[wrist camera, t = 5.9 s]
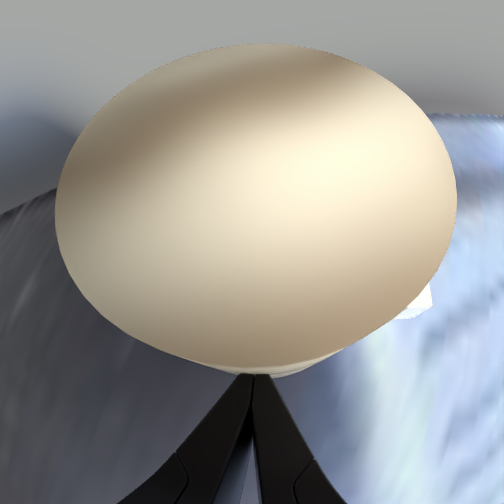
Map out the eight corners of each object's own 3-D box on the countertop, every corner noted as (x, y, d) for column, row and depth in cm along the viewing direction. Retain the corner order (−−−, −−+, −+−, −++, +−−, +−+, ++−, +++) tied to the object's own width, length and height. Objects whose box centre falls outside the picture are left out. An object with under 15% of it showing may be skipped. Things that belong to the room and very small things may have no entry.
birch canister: (386, 314, 15) (514, 203, 5) (226, 411, 14) (127, 459, 4) (291, 186, 19) (298, 27, 9) (151, 257, 18) (51, 124, 8)
